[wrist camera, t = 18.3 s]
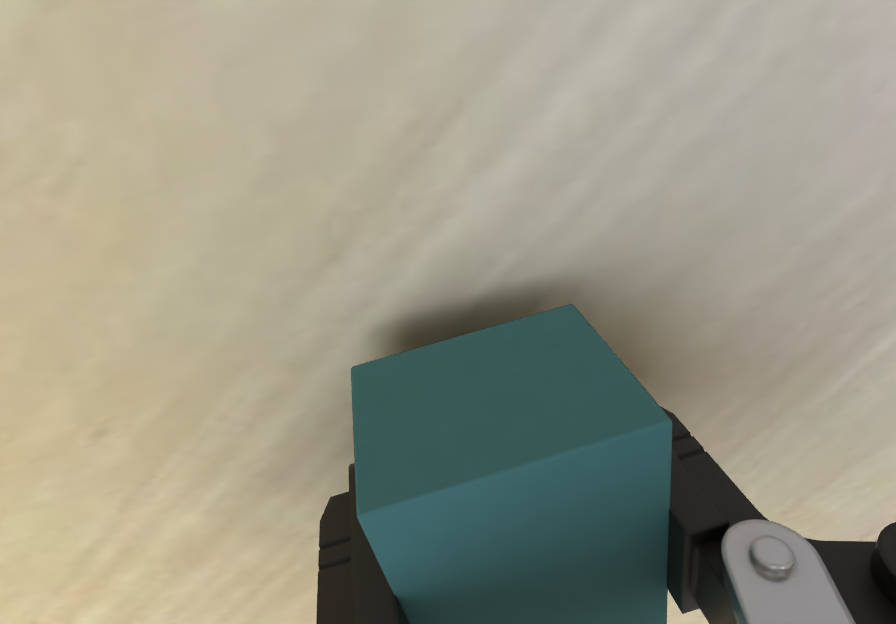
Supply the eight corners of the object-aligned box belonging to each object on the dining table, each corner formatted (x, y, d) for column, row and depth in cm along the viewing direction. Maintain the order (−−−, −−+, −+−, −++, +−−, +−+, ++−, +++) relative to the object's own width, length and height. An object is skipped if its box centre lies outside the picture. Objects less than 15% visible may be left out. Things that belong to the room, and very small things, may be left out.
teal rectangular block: (349, 365, 10) (355, 518, 7) (572, 302, 10) (674, 420, 7) (422, 551, 13) (449, 712, 10) (591, 498, 13) (667, 639, 10)
